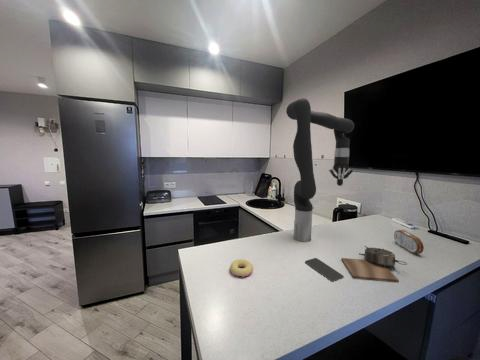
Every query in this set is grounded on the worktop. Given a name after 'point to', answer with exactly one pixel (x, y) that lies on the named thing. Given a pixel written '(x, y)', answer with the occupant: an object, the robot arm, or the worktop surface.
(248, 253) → the worktop surface
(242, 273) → the donut
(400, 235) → the tin
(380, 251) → the alarm clock
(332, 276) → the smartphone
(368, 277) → the walnut board
